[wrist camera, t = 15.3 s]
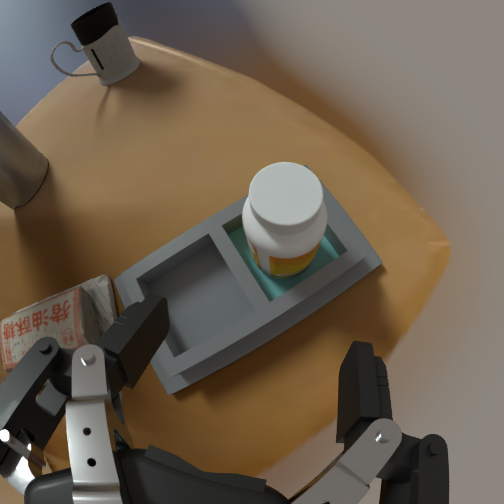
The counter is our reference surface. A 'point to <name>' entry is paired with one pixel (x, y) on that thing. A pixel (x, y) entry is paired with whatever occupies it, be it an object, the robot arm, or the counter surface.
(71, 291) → the packaged product
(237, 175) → the counter surface
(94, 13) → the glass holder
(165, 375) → the divided tray
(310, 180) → the supplement bottle
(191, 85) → the counter surface
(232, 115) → the counter surface
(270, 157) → the counter surface
